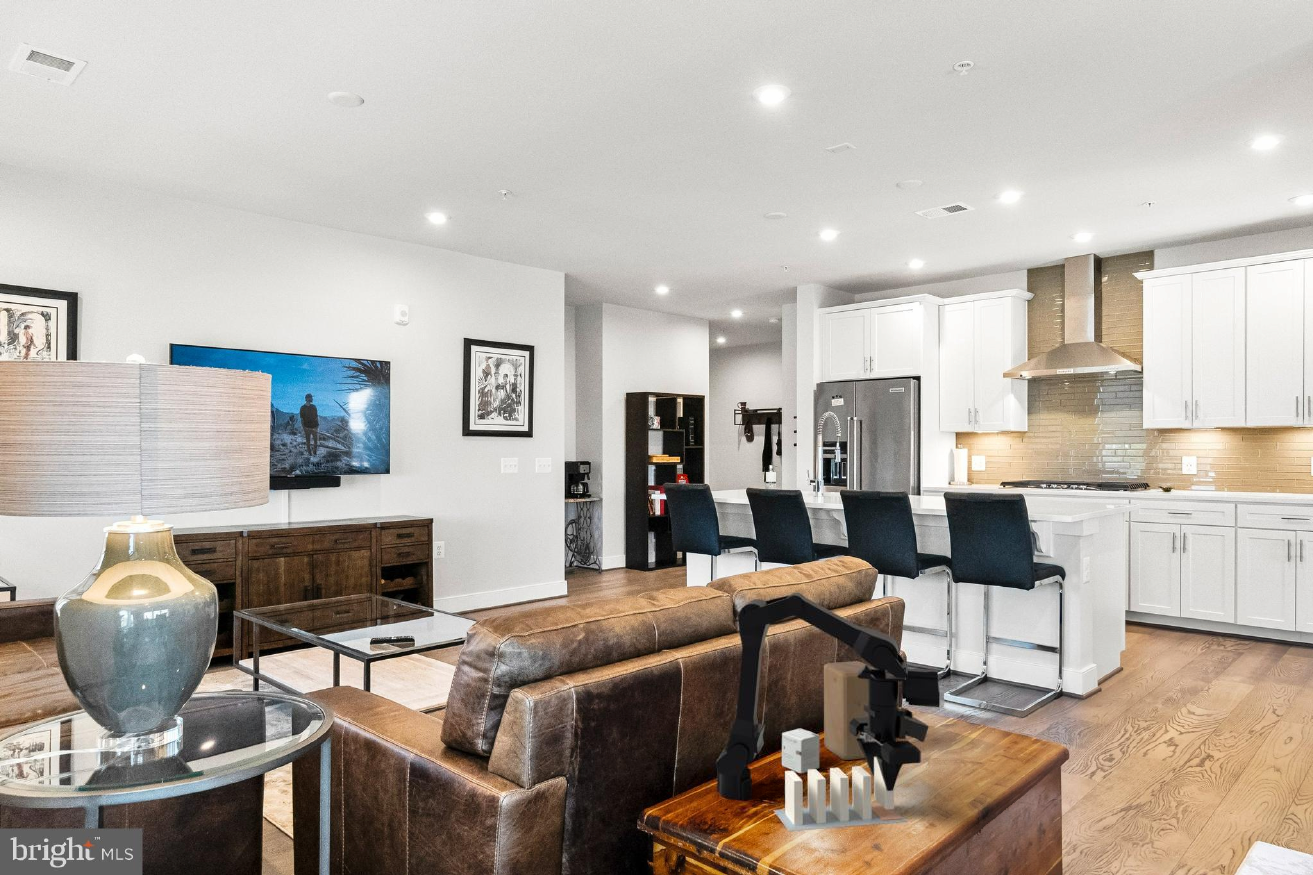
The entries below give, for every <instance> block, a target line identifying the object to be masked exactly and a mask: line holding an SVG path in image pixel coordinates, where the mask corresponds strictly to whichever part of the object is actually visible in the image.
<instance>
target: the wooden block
mask: <svg viewBox="0 0 1313 875" xmlns="http://www.w3.org/2000/svg"><path fill="white" fill-rule="evenodd" d="M865 664H866V663H864V662H862V661H859V660H856V661H855V660H853V661H841V662H828V663H825V664H824V665H823V732H824V733H823V737H824V740H823V744H824V747H825V748H826V749H827V750H829V751H830V752H831V753H833V754H834V755H836V756H837V757H839V759H841V760H844V761H851V760H859V759H865V757H864V754H863V752H862V750H861V748H860V746H859V744H858V742H857V740H856V739H857V738H860V732H859V734H858V736H854V735H853V734H851V733H850V732H849V723H850V721H851V720H852V719H853V718H863V717H868V713H867V712H866V711H864V705H868V679H860V678H858V677H857V675H858V671H859V670H861V669H862V668H863V667H864V666H865ZM870 667H871V668H872V669H876V668H875V667H873V666H870Z"/></svg>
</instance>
